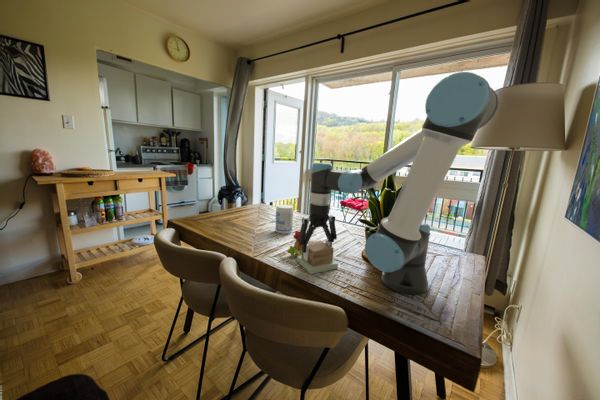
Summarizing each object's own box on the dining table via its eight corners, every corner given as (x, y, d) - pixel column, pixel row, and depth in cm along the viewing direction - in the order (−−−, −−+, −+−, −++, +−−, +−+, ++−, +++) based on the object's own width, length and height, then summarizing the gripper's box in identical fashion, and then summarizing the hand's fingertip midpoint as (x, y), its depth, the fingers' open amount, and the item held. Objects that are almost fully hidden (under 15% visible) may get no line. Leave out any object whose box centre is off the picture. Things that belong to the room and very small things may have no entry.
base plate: (337, 268, 95) (337, 263, 95) (310, 273, 90) (310, 268, 90) (321, 256, 106) (322, 252, 106) (297, 260, 101) (297, 256, 100)
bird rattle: (293, 255, 111) (283, 253, 104) (300, 231, 113) (290, 228, 105) (305, 258, 108) (296, 257, 100) (311, 234, 110) (302, 231, 102)
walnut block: (332, 262, 96) (333, 247, 95) (313, 266, 92) (314, 251, 91) (319, 253, 104) (320, 240, 103) (301, 257, 99) (302, 243, 98)
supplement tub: (272, 232, 135) (272, 206, 132) (279, 228, 143) (280, 203, 140) (288, 235, 131) (289, 208, 128) (295, 230, 140) (295, 205, 137)
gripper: (338, 200, 101) (334, 250, 106) (289, 202, 92) (288, 258, 96) (348, 203, 95) (344, 257, 99) (298, 207, 85) (295, 266, 90)
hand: (316, 257), depth 98 cm, fingers closed on walnut block, 9 cm apart
